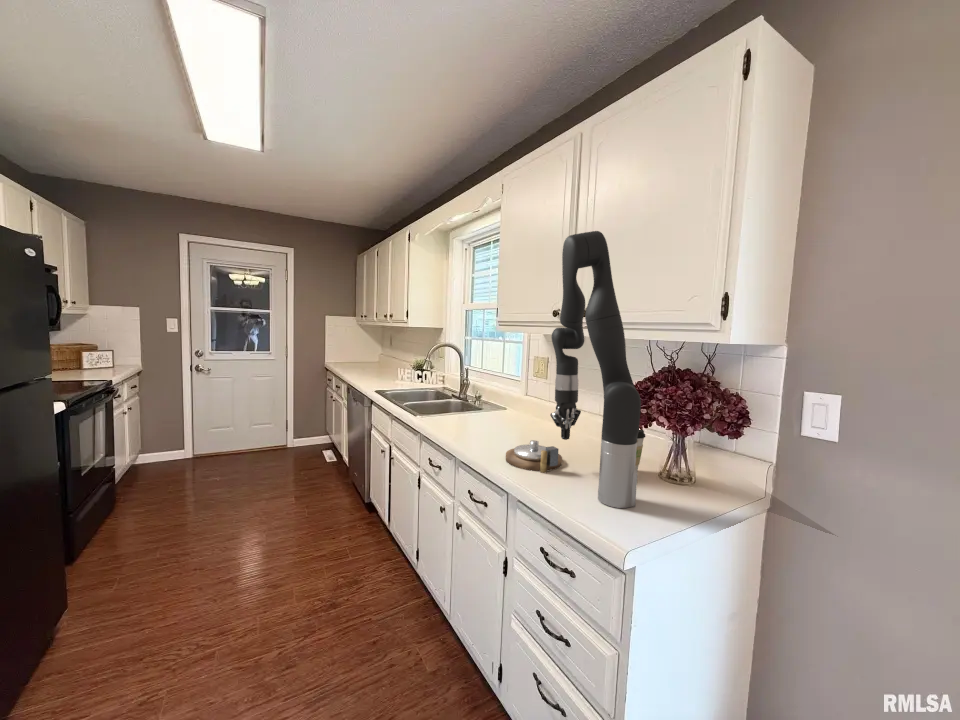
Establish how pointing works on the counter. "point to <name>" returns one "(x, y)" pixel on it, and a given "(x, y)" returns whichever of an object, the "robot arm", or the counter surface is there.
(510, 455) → the base
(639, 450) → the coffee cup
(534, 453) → the flange plate
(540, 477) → the counter surface
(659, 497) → the counter surface
